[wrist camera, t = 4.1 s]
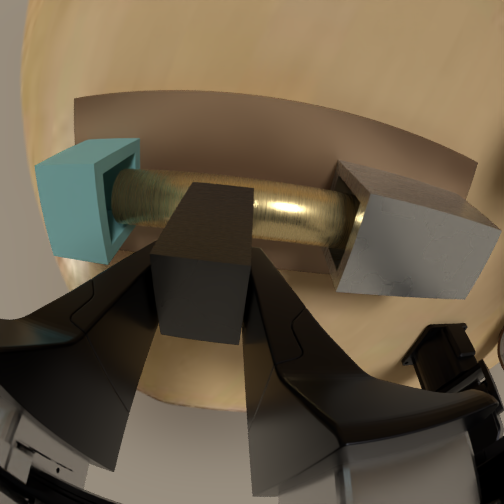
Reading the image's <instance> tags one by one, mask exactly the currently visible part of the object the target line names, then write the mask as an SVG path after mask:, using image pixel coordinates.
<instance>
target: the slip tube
mask: <svg viewBox="0 0 504 504" xmlns="http://www.w3.org/2000/svg"><path fill="white" fill-rule="evenodd" d="M359 206H360V201H359V199H358V198H357V197H356V196H355V195H353V194H348V193H343V192H337V191H332V190H326V189H321V188H315V187H309V186H303V185H296V184H290V183H283V182H276V181H269V180H261V179H253V178H245V177H236V176H227V175H217V174H207V173H195V172H182V171H167V170H149V169H123V170H121V171H120V172H119V174H118V175H117V177H116V179H115V182H114V185H113V189H112V196H111V207H112V213H113V216H114V219H115V220H116V222H117V223H120V224H129V225H139V226H149V227H158V228H164V229H163V231H162V233H161V234H160V236H159V238H158V240H157V241H156V243H155V245H154V247H153V248H152V250H151V252H150V262H151V271H152V279H153V287H154V294H155V301H156V308H157V314H158V320H159V326H160V332H161V334H162V335H168V336H174V337H181V338H187V339H194V340H201V341H209V342H217V343H225V344H234V345H239V340H240V334H241V327H242V321H243V314H244V308H245V301H246V295H247V288H248V282H249V275H250V269H251V253H252V238H256V239H265V240H273V241H281V242H289V243H297V244H305V245H313V246H321V247H329V248H336V249H344V250H345V248H346V246H347V243H348V240H349V237H350V234H351V231H352V228H353V225H354V222H355V218H356V215H357V212H358V209H359Z"/></svg>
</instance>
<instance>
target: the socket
mask: <svg viewBox="0 0 504 504" xmlns="http://www.w3.org/2000/svg"><path fill="white" fill-rule="evenodd" d="M123 169H140V138H113V139H89V140H86V141H83V142H81V143H79V144H77V145H74V146H72V147H70V148H68V149H66V150H64V151H62V152H60V153H58V154H56V155H54V156H52V157H50V158H48V159H46V160H44V161H43V162H41V163H39V164H37V165H35V172H36V179H37V185H38V191H39V197H40V202H41V207H42V212H43V216H44V221H45V225H46V229H47V233H48V237H49V240H50V244H51V248H52V251H53V254H54V256H59V257H64V258H70V259H76V260H82V261H88V262H94V263H100V264H106V265H108V264H109V263H110V261H111V260H112V259H113V257H114V256H115V254H116V253H117V251H118V250H119V248H120V247H121V246H122V244H123V243H124V241H125V240H126V239H127V237H128V236H129V235H130V233H131V232H132V231H133V229H134V228H135V226H136V225H129V224H120V223H117V222H116V220H115V219H114V216H113V213H112V207H111V196H112V189H113V185H114V182H115V179H116V177H117V175H118V174H119V172H120V171H121V170H123Z"/></svg>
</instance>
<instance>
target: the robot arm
mask: <svg viewBox="0 0 504 504" xmlns="http://www.w3.org/2000/svg"><path fill="white" fill-rule="evenodd" d="M156 241H157V240H156ZM156 241H154V242H152V243H151V244H149V245H147V246H145V247H144V248H142V249H140V250H138V251H137V252H135V253H133V254H132V255H130V256H128V257H126V258H125V259H123V260H121V261H120V262H118V263H116V264H115V265H113V266H111V267H110V268H108V269H106V270H105V271H103V272H101V273H100V274H98V275H97V276H95V277H93V278H92V279H90V280H88V281H87V282H85V283H84V284H82V285H80V286H79V287H77V288H76V289H74V290H72V291H71V292H69V293H67V294H65V295H63V296H62V297H60V298H58V299H56V300H54V301H52V302H51V303H49V304H47V305H45V306H44V307H42V308H40V309H38V310H36V311H34V312H33V313H31V314H29V315H27V316H25V317H22V318H19V319H13V320H6V319H0V504H121V503H118V502H115V501H113V500H109V499H107V498H104V497H101V496H99V495H96V494H94V493H91V492H89V491H86V490H84V485H85V480H86V476H87V471H88V467H89V463H90V464H92V465H95V466H98V467H100V468H103V469H106V470H109V471H112V472H114V470H115V466H116V462H117V457H118V453H119V450H120V446H121V442H122V438H123V434H124V430H125V427H126V423H127V420H128V416H129V412H130V409H131V406H132V402H133V399H134V395H135V392H136V389H137V386H138V382H139V379H140V376H141V373H142V370H143V367H144V364H145V361H146V358H147V355H148V352H149V349H150V346H151V343H152V340H153V337H154V334H155V332H156V329H157V326H158V323H159V320H158V314H157V308H156V301H155V294H154V287H153V279H152V271H151V262H150V252H151V250H152V248H153V247H154V245H155V243H156ZM466 329H467V325H466V323H460V324H434V325H430V326H429V327H428V328H427V329H426V330H425V332H424V333H423V334H422V336H421V337H420V338H419V340H418V341H417V342H416V344H415V345H414V346H413V348H412V349H411V350H410V352H409V353H408V354H407V355H406V357H405V358H404V359H403V360H402V364H403V365H404V366H405V365H413V366H414V368H415V371H416V374H417V377H418V379H419V382H420V385H421V388H422V389H418V388H413V387H409V386H404V385H400V384H396V383H392V382H388V381H384V380H380V379H377V378H374V377H372V376H370V375H369V374H367V373H366V372H364V371H363V370H362V369H361V368H360V367H359V366H358V365H357V364H356V363H355V362H354V361H353V360H352V359H351V358H350V357H349V356H348V355H347V354H346V353H345V352H344V351H343V350H342V349H341V348H340V346H339V345H338V344H337V343H336V342H335V341H334V340H333V339H332V338H331V337H330V336H329V335H328V334H327V333H326V331H325V330H324V329H323V328H322V327H321V326H320V325H319V323H318V322H317V321H316V320H315V318H314V317H313V316H312V314H311V313H310V312H309V311H308V309H307V308H306V307H305V305H304V304H303V303H302V301H301V300H300V299H299V297H298V296H297V295H296V293H295V292H294V291H293V290H292V288H291V287H290V286H289V284H288V283H287V282H286V280H285V279H284V278H283V276H282V275H281V274H280V272H279V271H278V270H277V268H276V267H275V266H274V264H273V263H272V262H271V261H270V259H269V258H268V257H267V255H266V254H265V253H264V251H263V250H262V249H261V248H258V247H252V253H251V269H250V275H249V282H248V288H247V295H246V301H245V308H244V314H243V321H242V338H243V357H244V375H245V392H246V408H247V424H248V432H249V433H248V439H249V453H250V467H251V481H252V493H253V496H257V497H258V496H259V497H268V496H269V497H275V496H279V504H504V436H503V432H504V428H503V424H502V421H501V418H500V415H499V414H500V413H502V412H503V411H504V407H503V404H502V401H501V398H500V395H499V393H498V390H497V387H496V385H495V382H494V380H493V378H492V375H491V373H490V371H489V369H488V367H487V366H486V364H485V362H484V361H483V359H481V360H480V361H479V362H478V363H477V361H476V358H475V356H474V355H475V349H474V347H473V345H472V343H471V342H470V340H469V338H468V336H467V334H466V332H465V330H466ZM484 377H485V380H484V381H483V382H480V380H482V379H483V378H484Z"/></svg>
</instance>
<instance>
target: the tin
mask: <svg viewBox="0 0 504 504" xmlns="http://www.w3.org/2000/svg"><path fill="white" fill-rule="evenodd" d="M497 350H498V358H499V361H500V364H501V366H502V368H503V370H504V328H503V329H502V331H501V333H500V336H499V340H498V349H497Z"/></svg>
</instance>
